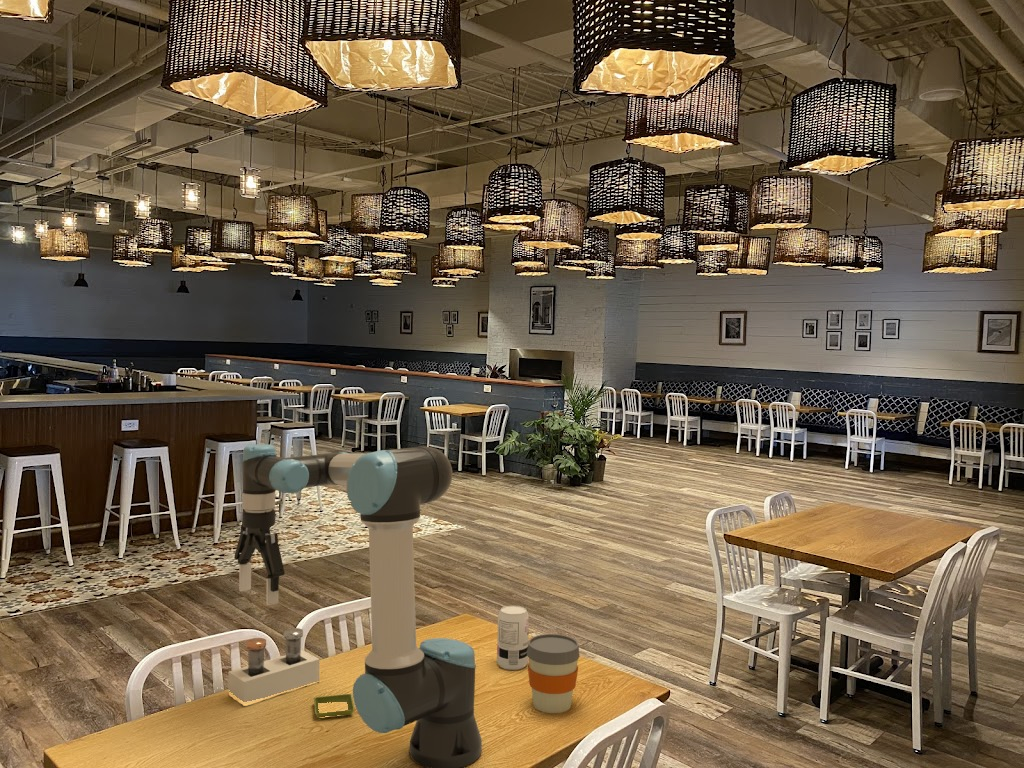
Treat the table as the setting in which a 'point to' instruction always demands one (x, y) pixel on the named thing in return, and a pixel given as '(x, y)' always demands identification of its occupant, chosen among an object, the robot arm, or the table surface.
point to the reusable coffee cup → (552, 671)
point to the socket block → (273, 677)
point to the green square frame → (334, 698)
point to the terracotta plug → (255, 656)
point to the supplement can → (512, 637)
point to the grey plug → (293, 645)
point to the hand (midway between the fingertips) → (258, 597)
